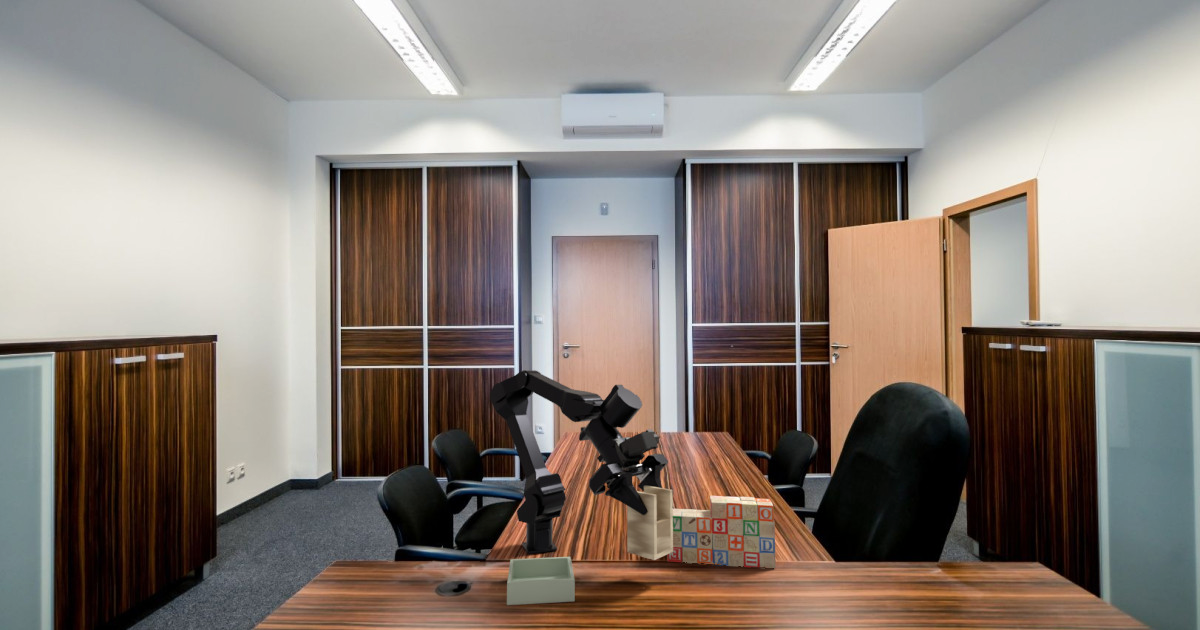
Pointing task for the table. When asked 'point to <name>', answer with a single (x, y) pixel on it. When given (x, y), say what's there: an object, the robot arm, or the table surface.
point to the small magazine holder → (651, 524)
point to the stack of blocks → (726, 533)
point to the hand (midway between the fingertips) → (656, 510)
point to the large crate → (540, 581)
